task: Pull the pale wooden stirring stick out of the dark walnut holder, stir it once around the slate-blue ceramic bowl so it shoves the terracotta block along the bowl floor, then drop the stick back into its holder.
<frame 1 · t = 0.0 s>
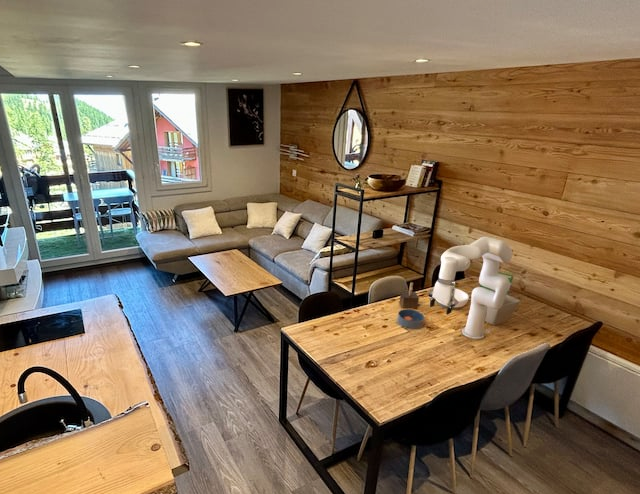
hand: (439, 309, 207), 31 cm above the table, tool pointing down, fingers open, 9 cm apart
green and white carton: (490, 304, 282), on the table
block: (407, 323, 253), point 1 cm above the table, touching mixing bowl
bowl: (449, 304, 281), on the table
mixing bowl: (409, 323, 255), on the table
stick: (409, 294, 274), in the stick holder
stick holder: (407, 305, 277), on the table
flower pot: (491, 319, 262), on the table
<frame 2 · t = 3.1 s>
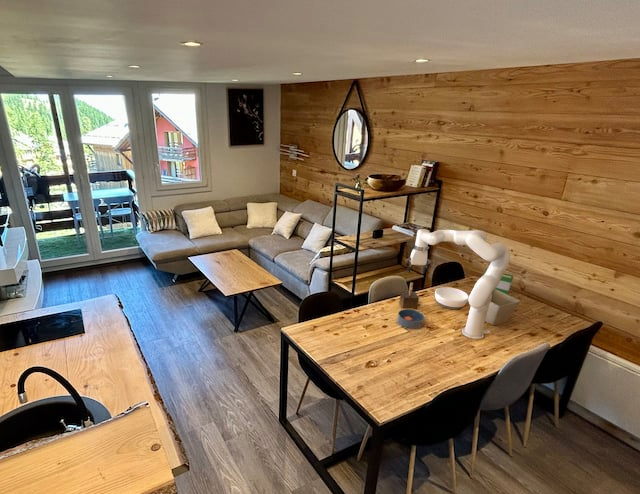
hand: (416, 272, 259), 29 cm above the table, tool pointing down, fingers open, 9 cm apart
nothing on the table moved.
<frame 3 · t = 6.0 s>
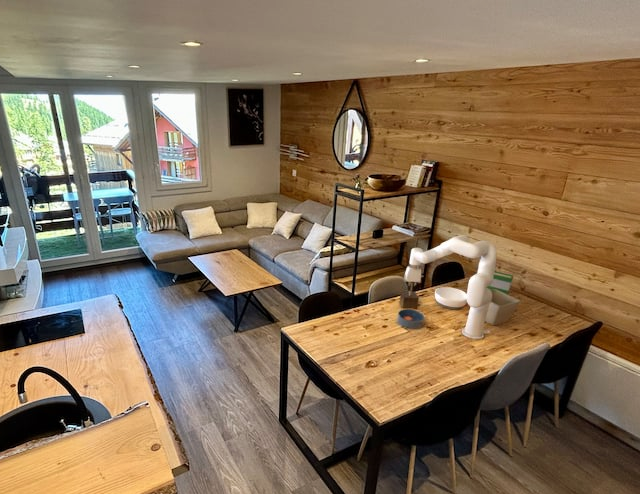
hand: (410, 290, 272), 13 cm above the table, tool pointing down, fingers closed on stick, 1 cm apart
stick: (409, 294, 274), in the stick holder, touching gripper
everything else where it was.
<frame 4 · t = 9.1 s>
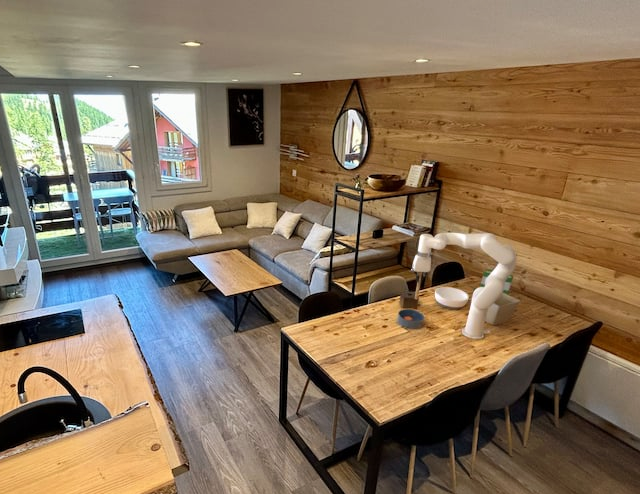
hand: (419, 281, 247), 29 cm above the table, tool pointing down, fingers closed on stick, 1 cm apart
stick: (418, 286, 248), point 25 cm above the table, touching gripper
everything else where it was.
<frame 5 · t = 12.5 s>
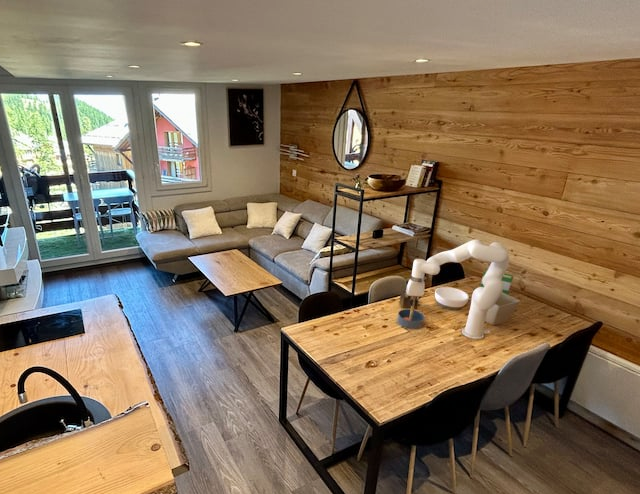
hand: (413, 304, 248), 14 cm above the table, tool pointing down, fingers closed on stick, 1 cm apart
block: (405, 324, 252), point 1 cm above the table, touching mixing bowl
stick: (412, 309, 249), point 11 cm above the table, touching gripper
everything else where it was.
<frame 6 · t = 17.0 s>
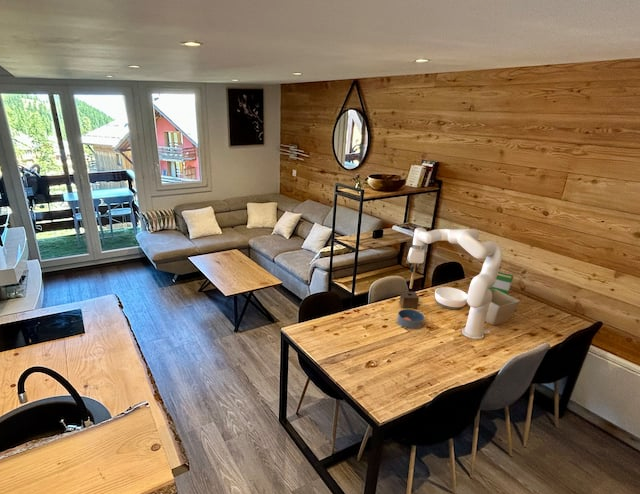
hand: (413, 271, 267), 26 cm above the table, tool pointing down, fingers closed on stick, 1 cm apart
stick: (412, 276, 268), point 23 cm above the table, touching gripper
everything else where it was.
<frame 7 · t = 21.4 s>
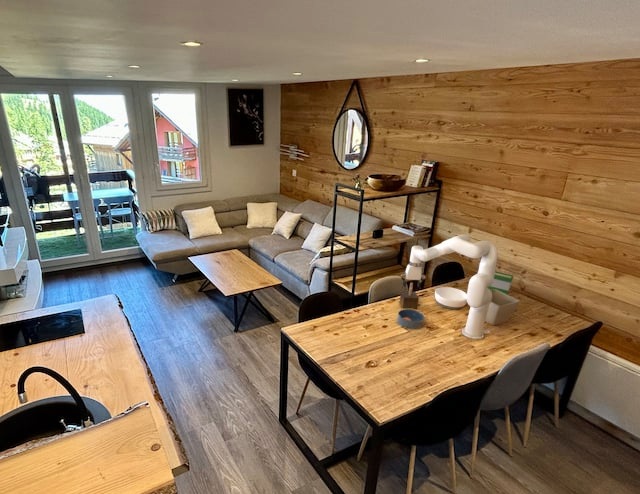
hand: (411, 286, 271), 15 cm above the table, tool pointing down, fingers open, 9 cm apart
stick: (409, 294, 274), in the stick holder
everything else where it was.
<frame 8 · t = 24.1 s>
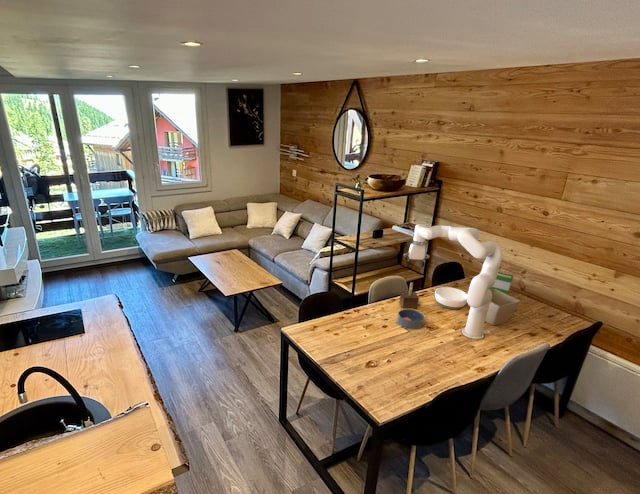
hand: (414, 266, 265), 30 cm above the table, tool pointing down, fingers open, 9 cm apart
nothing on the table moved.
at the end: block moved 1.8 cm from its start; block inside the target area in the mixing bowl (4.3 cm from its centre), point 0.6 cm above the mixing bowl's base; the gripper is holding nothing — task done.
